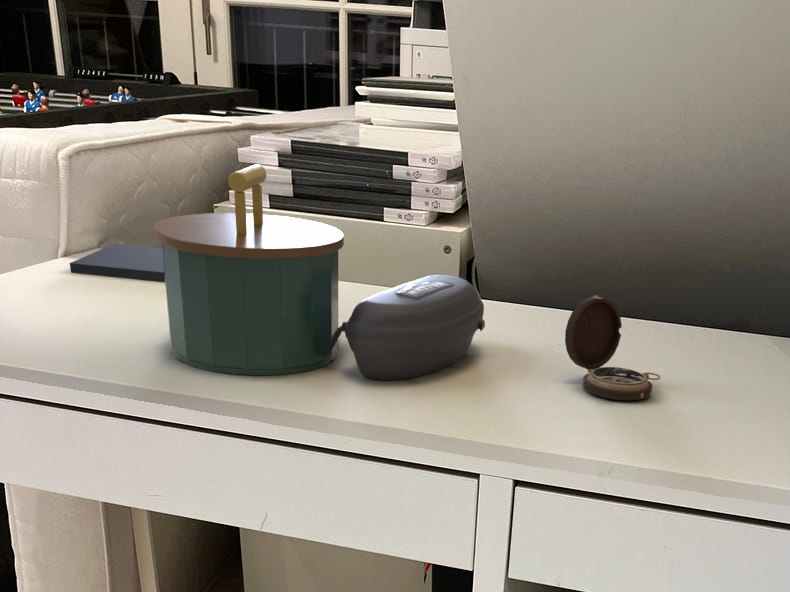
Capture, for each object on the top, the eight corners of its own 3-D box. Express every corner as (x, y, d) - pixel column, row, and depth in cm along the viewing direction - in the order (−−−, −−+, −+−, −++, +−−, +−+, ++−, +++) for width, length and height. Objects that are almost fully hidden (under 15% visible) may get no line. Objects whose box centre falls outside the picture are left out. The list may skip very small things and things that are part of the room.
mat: (70, 272, 108) (69, 263, 107) (114, 252, 118) (113, 243, 118) (177, 283, 108) (176, 273, 107) (211, 262, 118) (211, 253, 117)
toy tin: (146, 365, 82) (134, 246, 77) (202, 322, 95) (195, 218, 90) (316, 382, 82) (315, 264, 77) (350, 337, 94) (351, 233, 89)
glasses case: (427, 387, 80) (399, 290, 77) (326, 407, 85) (297, 317, 82) (515, 339, 94) (494, 255, 91) (423, 358, 99) (401, 280, 96)
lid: (124, 255, 77) (115, 169, 74) (191, 223, 91) (185, 150, 87) (321, 274, 77) (320, 189, 74) (359, 239, 90) (360, 166, 87)
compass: (615, 407, 83) (629, 319, 79) (555, 379, 88) (565, 296, 84) (681, 395, 87) (697, 311, 83) (620, 370, 92) (632, 290, 88)
